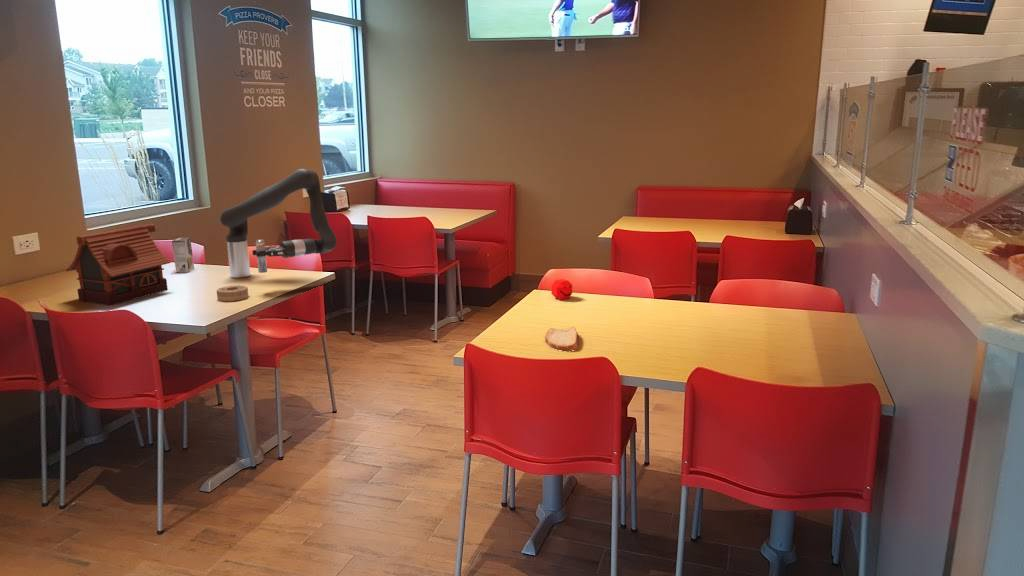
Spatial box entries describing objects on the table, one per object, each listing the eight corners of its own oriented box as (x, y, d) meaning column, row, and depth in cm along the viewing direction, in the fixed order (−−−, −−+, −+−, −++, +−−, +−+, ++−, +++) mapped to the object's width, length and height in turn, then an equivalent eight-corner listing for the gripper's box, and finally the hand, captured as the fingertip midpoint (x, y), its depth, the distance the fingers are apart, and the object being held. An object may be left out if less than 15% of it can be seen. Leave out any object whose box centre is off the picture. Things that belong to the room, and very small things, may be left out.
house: (112, 308, 297) (102, 238, 290) (67, 301, 309) (55, 234, 302) (182, 288, 328) (174, 225, 321) (138, 283, 340) (129, 221, 333)
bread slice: (569, 354, 237) (569, 343, 236) (527, 343, 249) (527, 332, 248) (601, 341, 250) (601, 330, 249) (560, 331, 261) (560, 321, 261)
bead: (214, 297, 312) (213, 288, 311) (242, 292, 320) (241, 283, 319) (223, 302, 303) (222, 293, 302) (252, 297, 311) (251, 288, 310)
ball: (559, 301, 299) (559, 283, 297) (548, 297, 306) (548, 279, 304) (575, 298, 303) (575, 281, 301) (564, 294, 310) (564, 277, 308)
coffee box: (181, 268, 369) (177, 237, 365) (194, 268, 370) (190, 237, 366) (175, 272, 360) (171, 240, 356) (188, 272, 361) (184, 240, 357)
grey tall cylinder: (257, 271, 318) (254, 240, 315) (265, 270, 320) (262, 239, 317) (260, 273, 315) (257, 241, 312) (268, 271, 317) (265, 240, 314)
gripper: (285, 238, 329) (247, 242, 318) (298, 242, 318) (259, 247, 308) (287, 254, 331) (249, 259, 320) (299, 259, 320) (261, 264, 309)
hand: (254, 253), depth 314 cm, fingers closed on grey tall cylinder, 3 cm apart
